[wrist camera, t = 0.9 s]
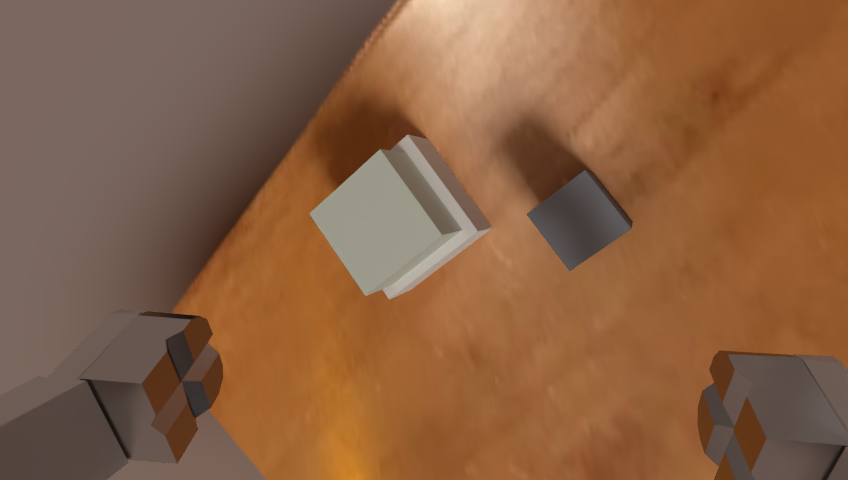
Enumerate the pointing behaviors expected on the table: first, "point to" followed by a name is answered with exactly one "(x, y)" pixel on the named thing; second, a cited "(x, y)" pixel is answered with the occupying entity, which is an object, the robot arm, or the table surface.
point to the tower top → (384, 220)
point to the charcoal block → (580, 219)
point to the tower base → (454, 202)
